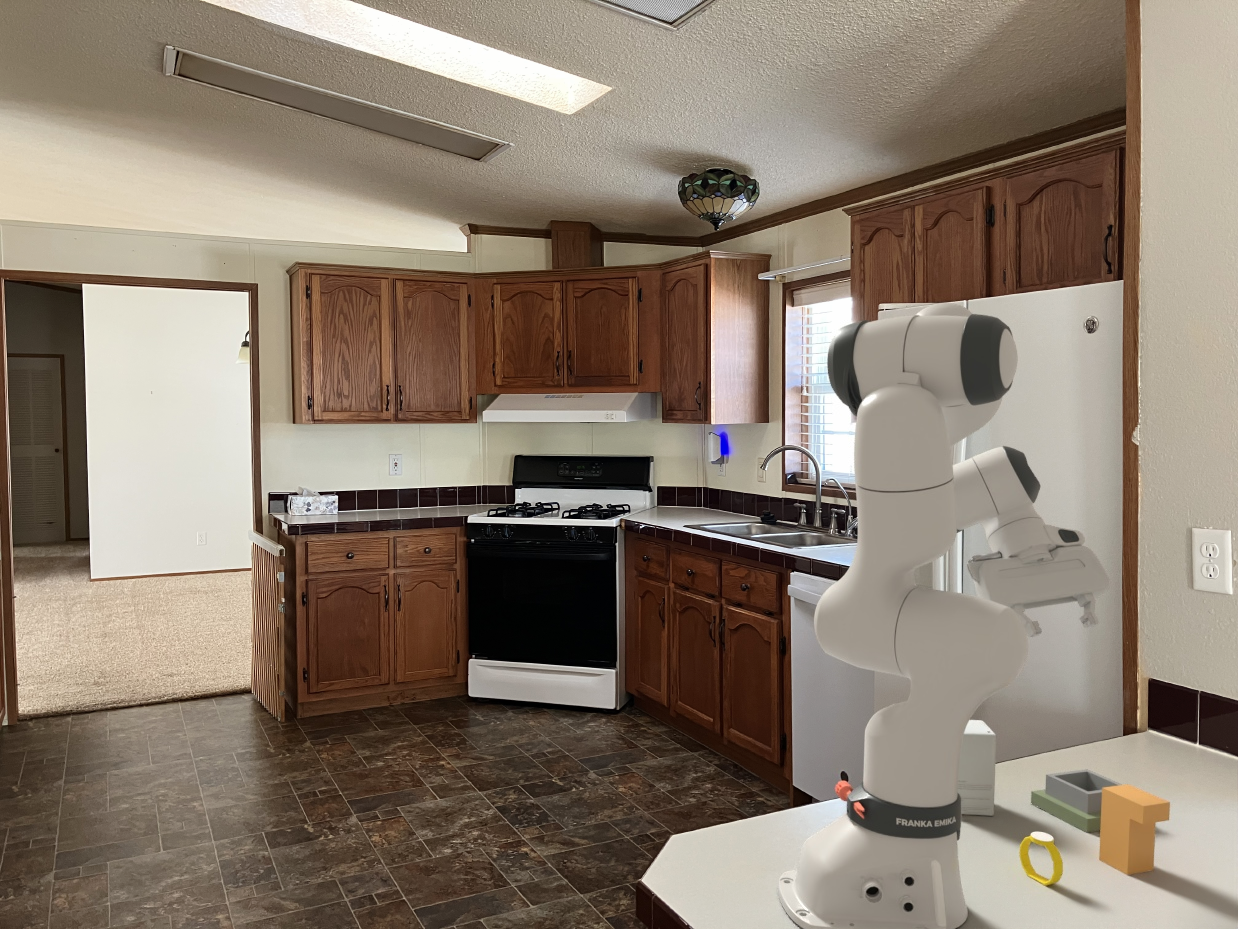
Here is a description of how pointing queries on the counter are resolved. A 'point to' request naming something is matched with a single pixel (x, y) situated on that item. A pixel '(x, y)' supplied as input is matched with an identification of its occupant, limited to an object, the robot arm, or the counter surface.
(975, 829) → the counter surface
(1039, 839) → the watch
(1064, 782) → the grey-rimmed base plate
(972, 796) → the supplement box
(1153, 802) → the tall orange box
